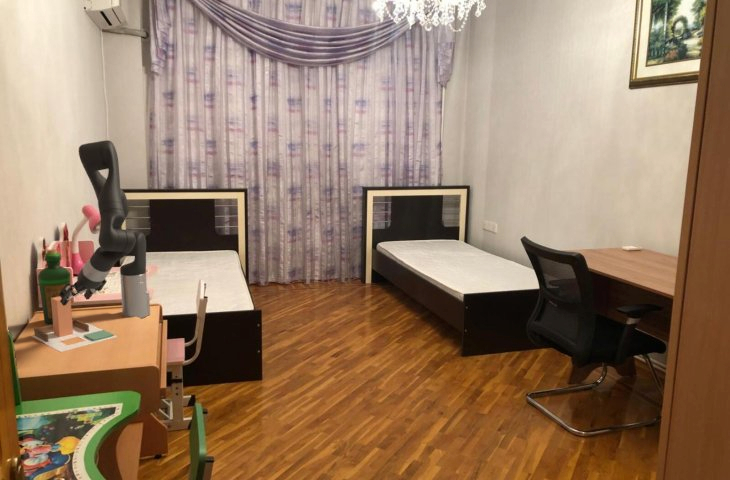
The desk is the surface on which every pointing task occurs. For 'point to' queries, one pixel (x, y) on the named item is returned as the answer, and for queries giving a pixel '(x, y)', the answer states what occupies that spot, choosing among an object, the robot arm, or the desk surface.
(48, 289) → the bottle
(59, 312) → the post
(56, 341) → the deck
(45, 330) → the tray
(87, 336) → the pad
